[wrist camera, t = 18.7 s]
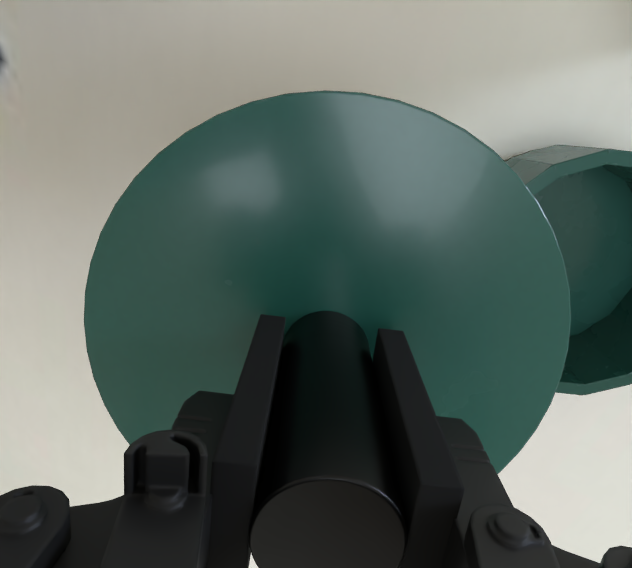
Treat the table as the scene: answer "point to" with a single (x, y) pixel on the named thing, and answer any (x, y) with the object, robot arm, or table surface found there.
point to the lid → (329, 301)
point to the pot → (590, 255)
